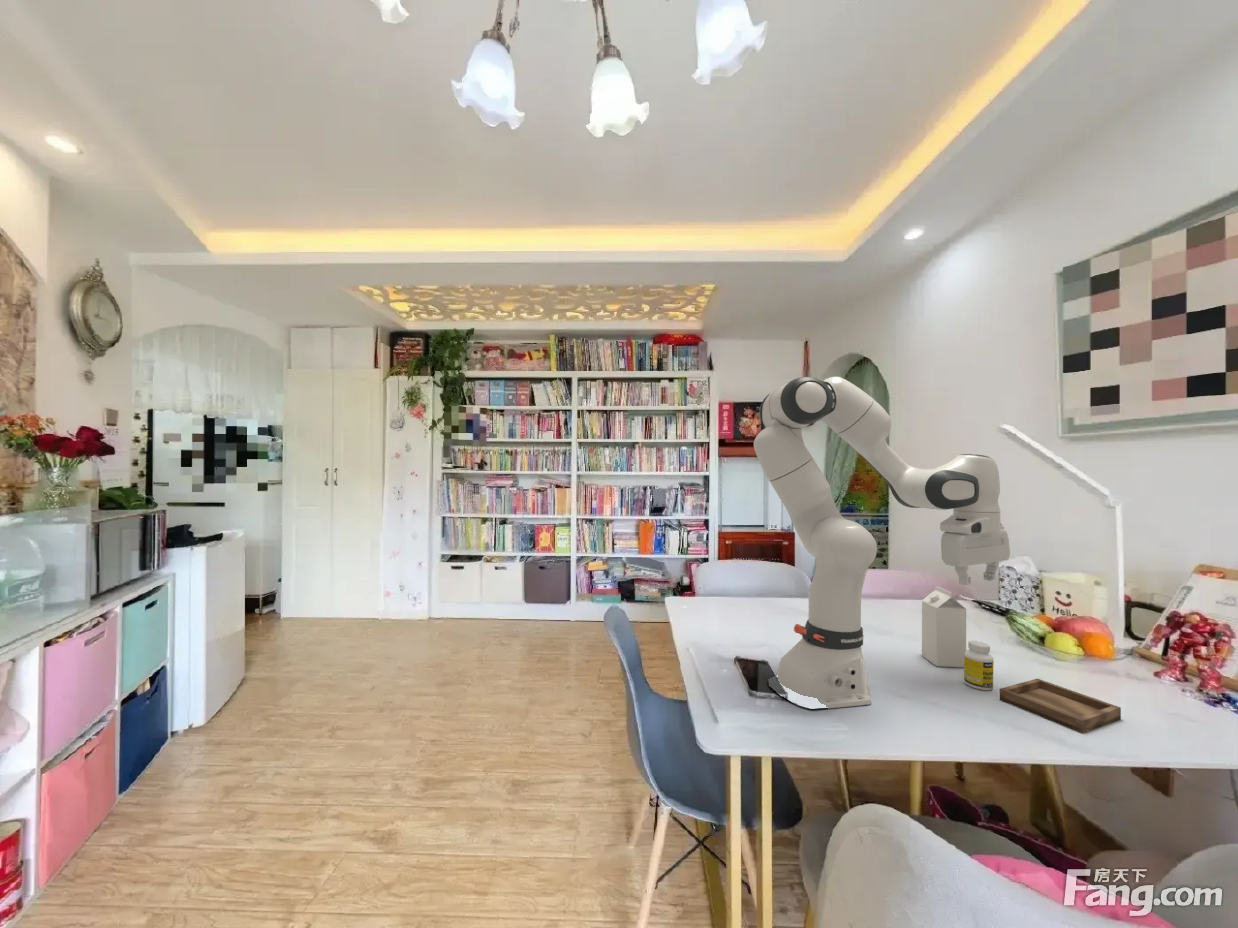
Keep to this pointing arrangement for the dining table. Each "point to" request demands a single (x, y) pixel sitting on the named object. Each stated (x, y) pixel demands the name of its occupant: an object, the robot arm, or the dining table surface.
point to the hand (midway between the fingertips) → (977, 582)
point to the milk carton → (943, 629)
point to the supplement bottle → (978, 666)
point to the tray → (1061, 705)
